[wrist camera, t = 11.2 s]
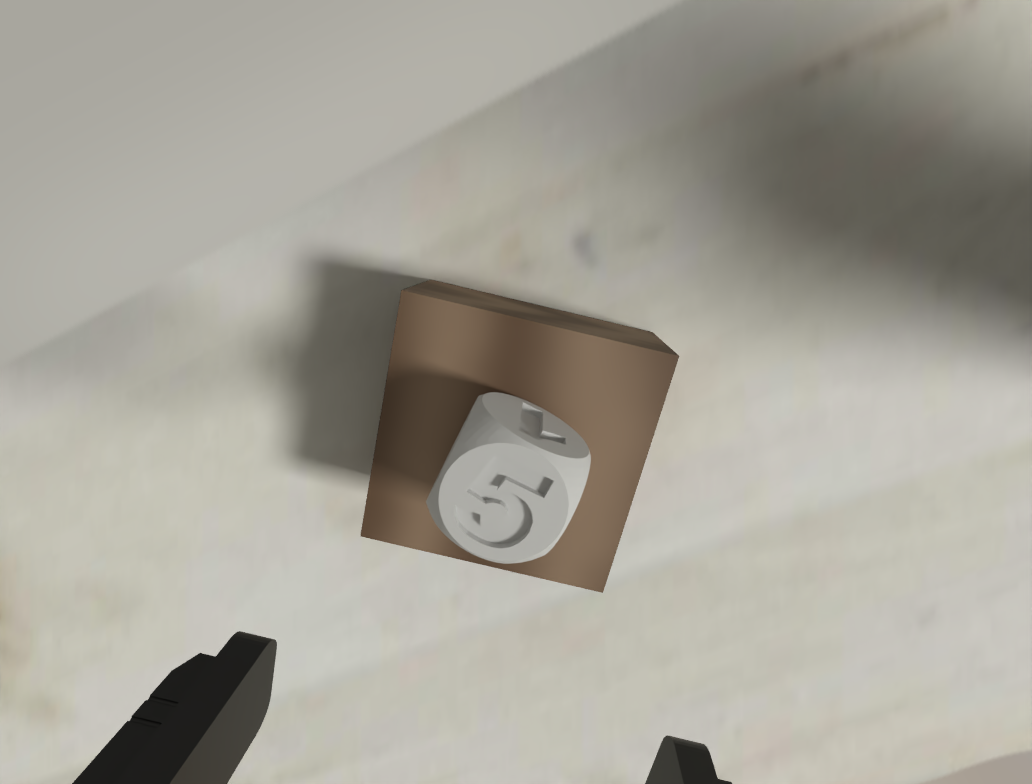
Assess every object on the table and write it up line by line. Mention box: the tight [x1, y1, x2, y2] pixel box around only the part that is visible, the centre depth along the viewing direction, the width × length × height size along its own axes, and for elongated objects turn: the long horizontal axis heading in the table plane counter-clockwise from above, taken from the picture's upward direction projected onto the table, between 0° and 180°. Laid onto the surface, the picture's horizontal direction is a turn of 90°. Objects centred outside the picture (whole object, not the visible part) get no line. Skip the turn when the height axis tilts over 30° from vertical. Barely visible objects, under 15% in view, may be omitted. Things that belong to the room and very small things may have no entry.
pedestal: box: [361, 280, 679, 593], centre depth 27 cm, size 12×12×6 cm
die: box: [426, 392, 591, 564], centre depth 22 cm, size 5×5×5 cm
